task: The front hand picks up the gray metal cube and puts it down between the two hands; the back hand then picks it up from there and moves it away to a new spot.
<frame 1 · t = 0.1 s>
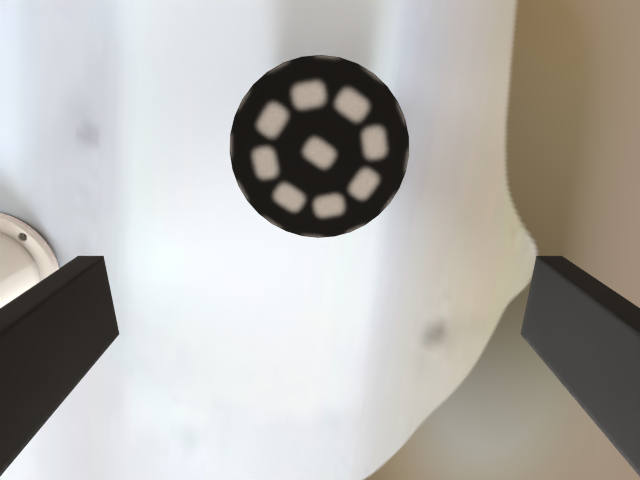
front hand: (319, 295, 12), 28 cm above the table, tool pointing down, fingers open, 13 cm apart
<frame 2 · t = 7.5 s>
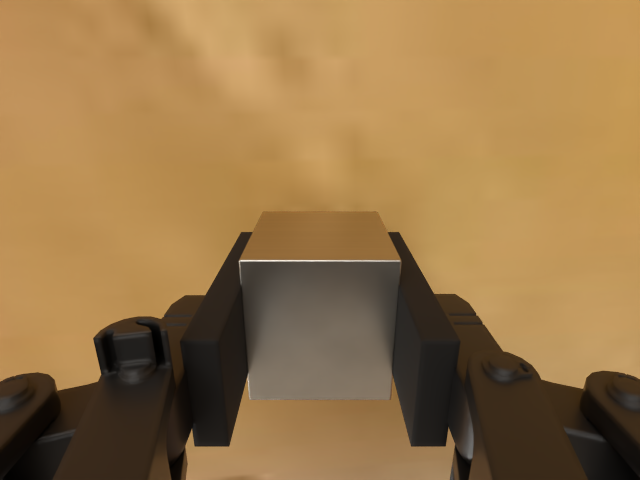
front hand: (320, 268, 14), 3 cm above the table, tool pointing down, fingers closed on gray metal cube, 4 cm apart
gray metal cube: (320, 267, 15), point 2 cm above the table, touching front hand
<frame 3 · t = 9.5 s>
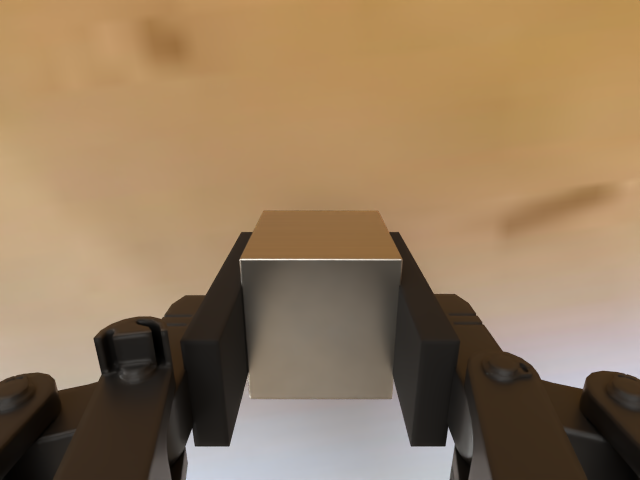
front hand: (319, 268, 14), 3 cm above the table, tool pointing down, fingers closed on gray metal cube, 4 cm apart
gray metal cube: (320, 267, 15), point 2 cm above the table, touching front hand
when the front hand's fingers open (0 cm above the table, at t = 11.8 s): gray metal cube stays where it is, on the table.
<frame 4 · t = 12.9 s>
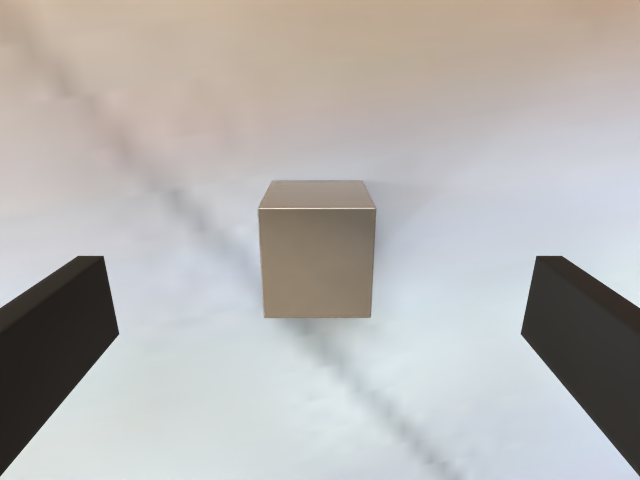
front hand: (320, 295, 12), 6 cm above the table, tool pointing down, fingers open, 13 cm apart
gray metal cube: (317, 226, 18), on the table
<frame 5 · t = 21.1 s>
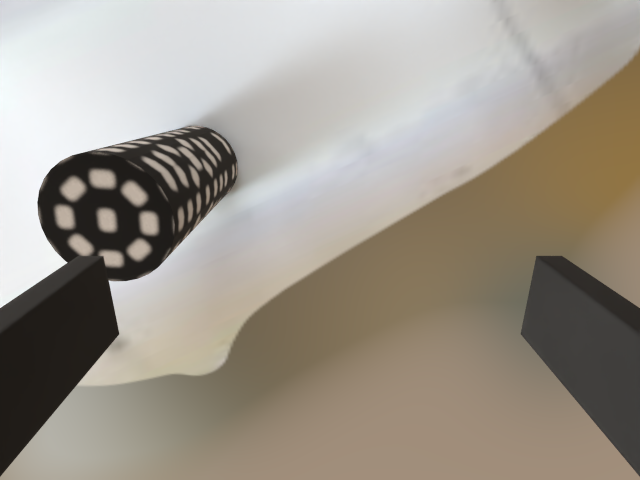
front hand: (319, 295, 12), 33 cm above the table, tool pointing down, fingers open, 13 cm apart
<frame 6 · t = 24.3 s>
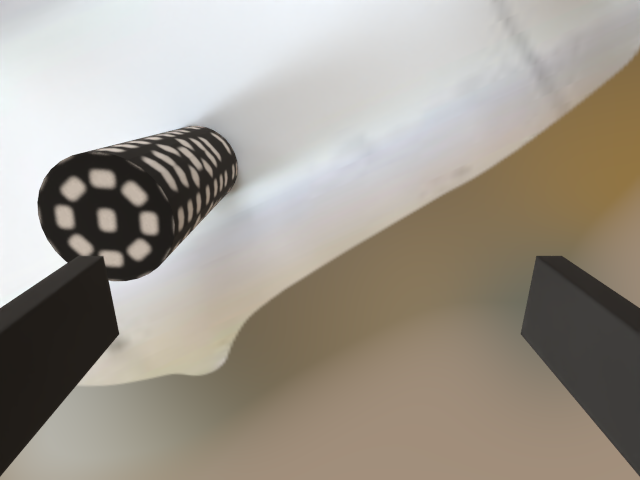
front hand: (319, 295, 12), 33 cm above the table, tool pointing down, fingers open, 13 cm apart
when the back hand's fingers open (1 cm above the table, at t = 27.7 s): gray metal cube stays where it is, on the table.
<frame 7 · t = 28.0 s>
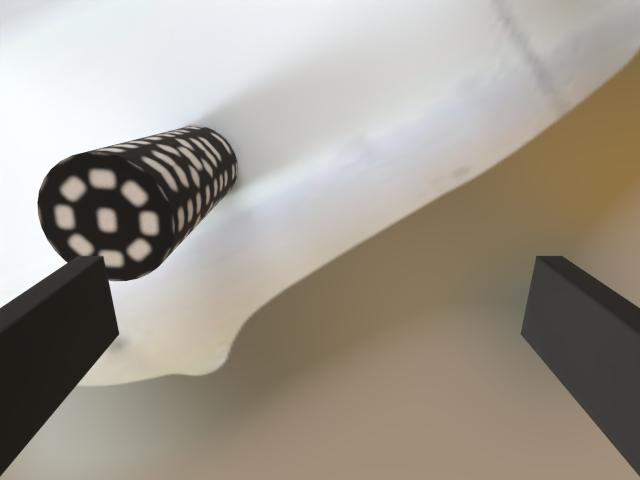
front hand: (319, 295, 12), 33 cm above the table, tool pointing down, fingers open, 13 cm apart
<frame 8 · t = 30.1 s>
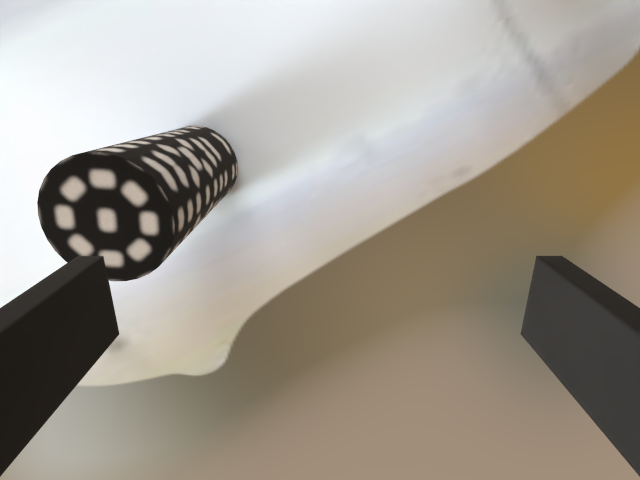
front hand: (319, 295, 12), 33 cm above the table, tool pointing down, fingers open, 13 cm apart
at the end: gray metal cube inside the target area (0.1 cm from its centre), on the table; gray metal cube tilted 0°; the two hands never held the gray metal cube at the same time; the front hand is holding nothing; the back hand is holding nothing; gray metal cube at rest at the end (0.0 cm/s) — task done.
